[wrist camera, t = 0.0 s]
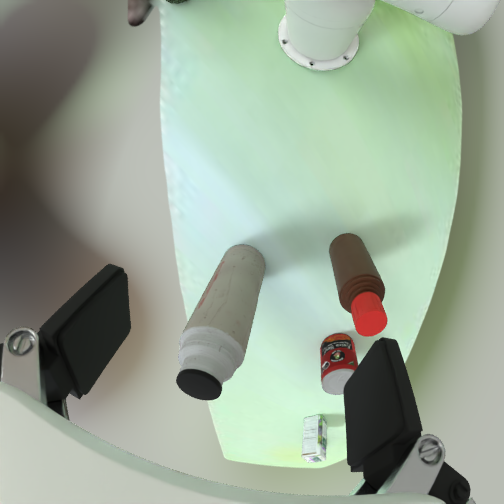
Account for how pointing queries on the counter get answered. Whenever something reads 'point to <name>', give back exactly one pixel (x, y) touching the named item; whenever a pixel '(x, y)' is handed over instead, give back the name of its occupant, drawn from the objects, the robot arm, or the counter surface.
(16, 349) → the robot arm
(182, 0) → the character mug
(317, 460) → the syrup box
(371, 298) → the cap
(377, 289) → the bottle
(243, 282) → the thermos bottle
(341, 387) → the canned food
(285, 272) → the counter surface
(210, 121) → the counter surface
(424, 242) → the counter surface
